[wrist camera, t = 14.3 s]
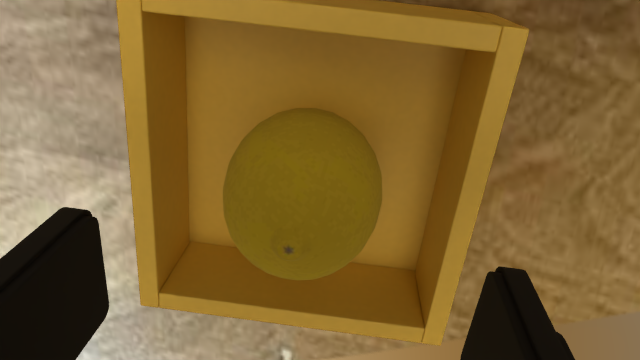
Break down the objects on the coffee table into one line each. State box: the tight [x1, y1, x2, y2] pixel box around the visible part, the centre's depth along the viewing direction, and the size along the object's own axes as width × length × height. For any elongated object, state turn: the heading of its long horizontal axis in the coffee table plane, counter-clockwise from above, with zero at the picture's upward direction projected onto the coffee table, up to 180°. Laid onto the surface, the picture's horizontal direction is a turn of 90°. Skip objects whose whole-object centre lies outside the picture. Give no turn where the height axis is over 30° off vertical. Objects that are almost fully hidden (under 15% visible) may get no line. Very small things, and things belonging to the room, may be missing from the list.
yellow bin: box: [116, 0, 529, 346], centre depth 19 cm, size 13×13×5 cm
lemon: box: [223, 108, 382, 280], centre depth 17 cm, size 6×6×8 cm
